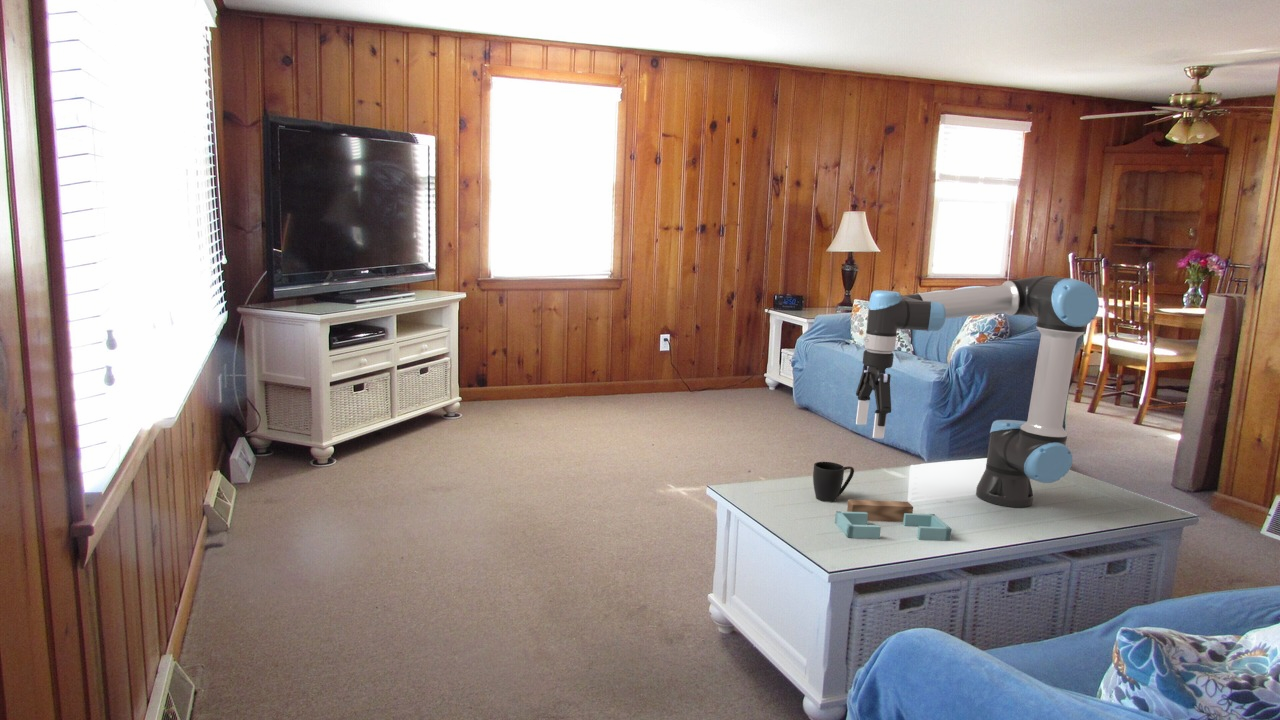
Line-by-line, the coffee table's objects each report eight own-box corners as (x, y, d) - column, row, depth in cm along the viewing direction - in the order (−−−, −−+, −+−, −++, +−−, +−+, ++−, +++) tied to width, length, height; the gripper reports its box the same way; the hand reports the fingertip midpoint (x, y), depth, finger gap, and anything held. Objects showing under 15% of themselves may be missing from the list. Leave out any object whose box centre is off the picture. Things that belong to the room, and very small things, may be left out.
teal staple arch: (932, 525, 222) (934, 513, 222) (950, 540, 212) (951, 528, 211) (902, 524, 221) (904, 513, 221) (918, 539, 211) (920, 528, 211)
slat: (905, 517, 227) (907, 501, 226) (911, 523, 223) (913, 506, 223) (846, 515, 226) (848, 499, 225) (851, 521, 222) (852, 504, 222)
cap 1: (847, 537, 210) (849, 526, 209) (834, 522, 220) (836, 511, 219) (879, 538, 210) (880, 527, 210) (865, 523, 221) (866, 512, 220)
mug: (858, 502, 237) (862, 469, 235) (820, 504, 233) (823, 470, 231) (843, 492, 244) (846, 460, 243) (805, 494, 241) (808, 461, 239)
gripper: (849, 342, 232) (841, 418, 236) (881, 358, 208) (871, 443, 212) (876, 344, 233) (867, 420, 237) (911, 360, 208) (900, 444, 212)
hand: (869, 431), depth 224 cm, fingers open, 13 cm apart
